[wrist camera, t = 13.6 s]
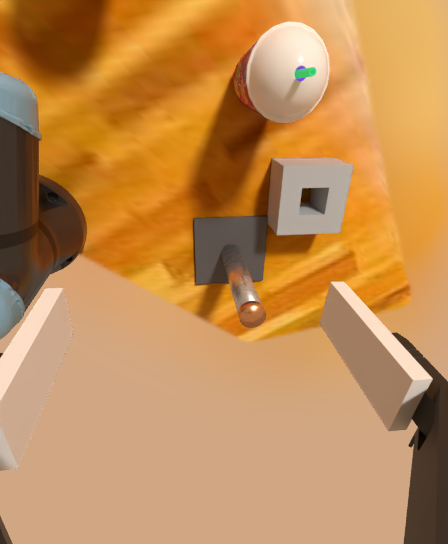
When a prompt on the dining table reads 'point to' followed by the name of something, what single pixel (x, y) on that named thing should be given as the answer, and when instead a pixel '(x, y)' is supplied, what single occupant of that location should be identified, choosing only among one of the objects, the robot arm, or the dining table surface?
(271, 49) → the smoothie
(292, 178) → the eye block
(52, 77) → the dining table surface
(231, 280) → the peg
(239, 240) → the mat
